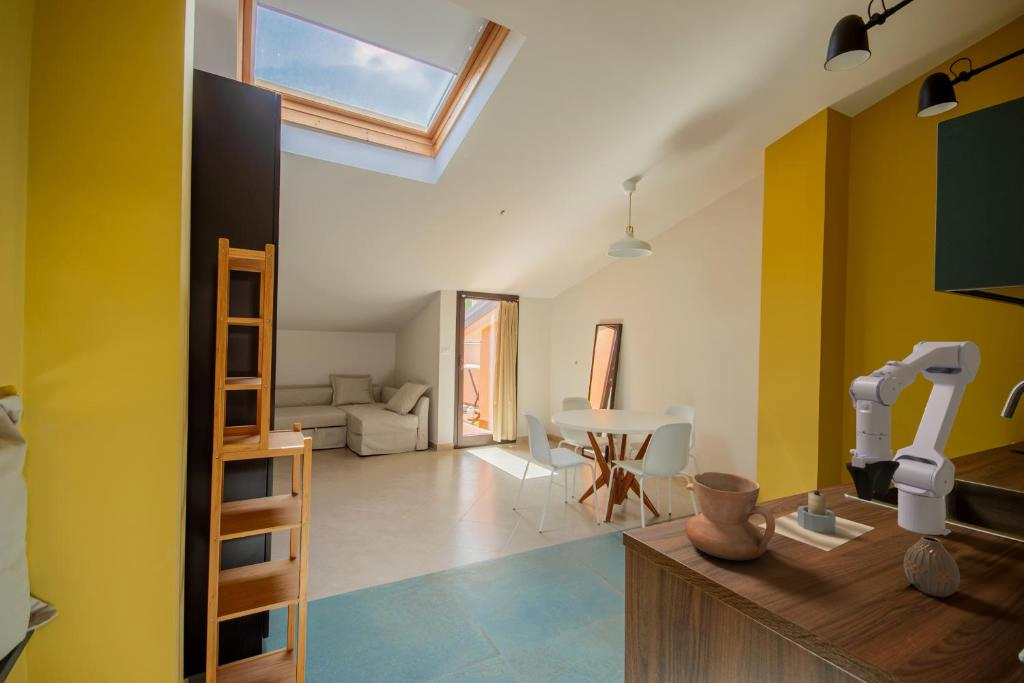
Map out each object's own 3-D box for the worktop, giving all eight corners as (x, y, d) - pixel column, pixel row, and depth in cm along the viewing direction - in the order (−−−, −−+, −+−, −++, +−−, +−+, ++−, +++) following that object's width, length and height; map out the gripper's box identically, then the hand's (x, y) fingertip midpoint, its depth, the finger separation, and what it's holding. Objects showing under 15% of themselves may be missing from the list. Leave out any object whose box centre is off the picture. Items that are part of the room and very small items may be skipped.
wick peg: (811, 523, 101) (812, 487, 101) (828, 528, 98) (828, 491, 99) (805, 526, 99) (805, 490, 99) (821, 531, 97) (821, 494, 97)
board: (806, 510, 111) (806, 507, 111) (874, 531, 99) (874, 528, 99) (757, 529, 99) (757, 525, 99) (827, 555, 87) (827, 551, 87)
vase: (971, 605, 71) (971, 550, 71) (921, 599, 72) (921, 545, 72) (939, 582, 78) (939, 532, 78) (894, 577, 79) (894, 528, 79)
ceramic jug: (665, 541, 92) (666, 474, 92) (708, 526, 100) (710, 464, 100) (749, 584, 77) (750, 503, 77) (793, 562, 84) (795, 488, 84)
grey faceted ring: (807, 518, 104) (807, 503, 104) (840, 529, 98) (840, 513, 98) (791, 524, 100) (791, 509, 100) (825, 535, 94) (826, 519, 94)
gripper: (866, 426, 102) (865, 485, 102) (835, 432, 94) (835, 496, 94) (905, 431, 96) (904, 494, 96) (875, 439, 88) (875, 507, 88)
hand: (872, 496), depth 95 cm, fingers open, 7 cm apart
